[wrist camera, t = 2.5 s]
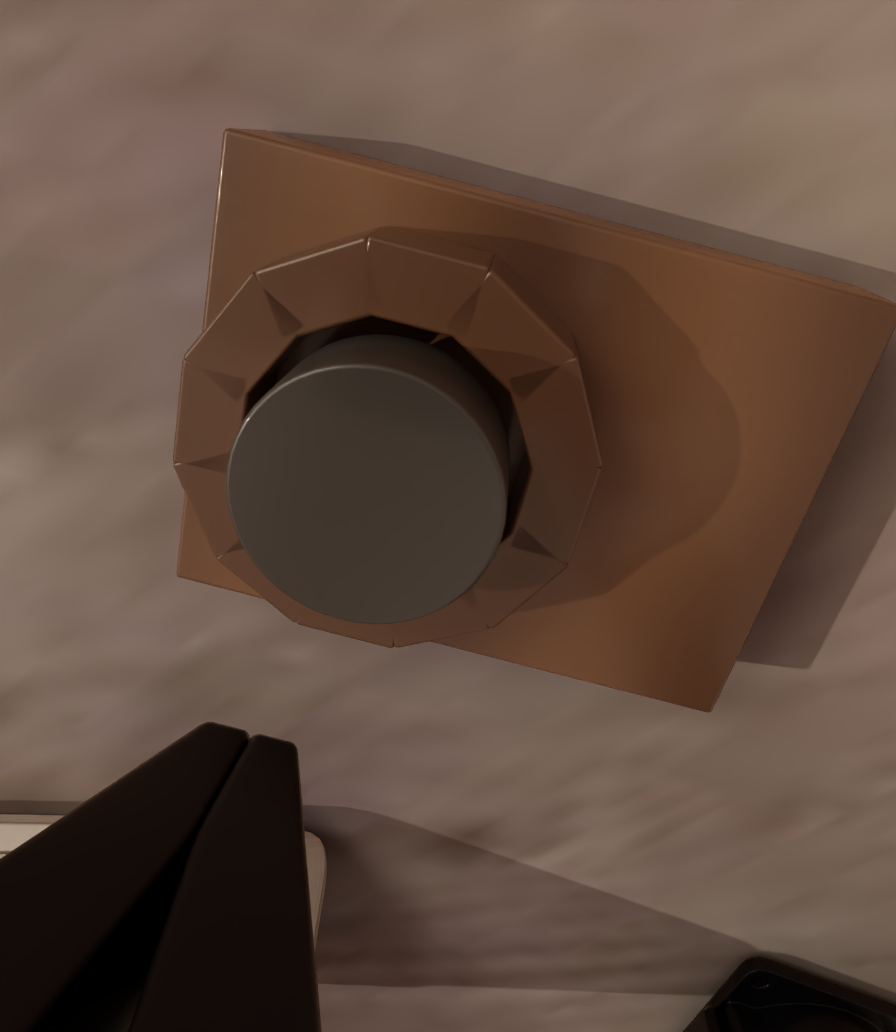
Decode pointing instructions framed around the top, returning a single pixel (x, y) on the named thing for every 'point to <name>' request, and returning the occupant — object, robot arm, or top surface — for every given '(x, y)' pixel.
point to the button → (372, 480)
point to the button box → (541, 402)
